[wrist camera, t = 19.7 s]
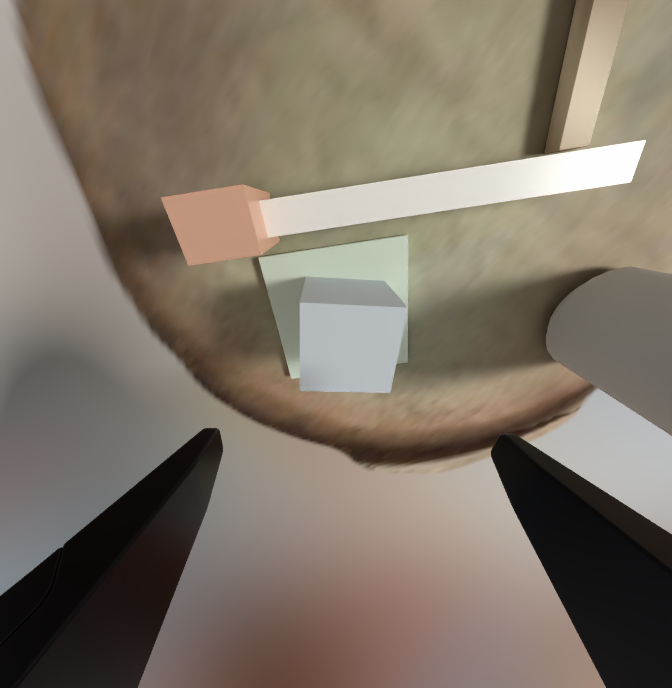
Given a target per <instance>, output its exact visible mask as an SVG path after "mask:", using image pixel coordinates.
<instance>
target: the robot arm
mask: <svg viewBox="0 0 672 688" xmlns="http://www.w3.org/2000/svg"><path fill="white" fill-rule="evenodd" d="M222 453H223V445H222V440H221V435H220V431H219V429H217V428H205V429H203V430H202V431H200V432H199V433H198V434H197V435H195V436H194V437H193V438H192V439H190V440H189V441H188V442H187V443H186V444H185V445H183V446H182V447H181V448H180V449H178V450H177V451H176V452H175V453H174V454H172V455H171V456H170V457H169V458H167V459H166V460H165V461H164V462H163V463H161V464H160V465H159V466H158V467H157V468H155V469H154V470H153V471H152V472H151V473H149V474H148V475H147V476H146V477H145V478H143V479H142V480H141V481H140V482H138V483H137V484H136V485H135V486H134V487H133V488H131V489H130V490H129V491H128V492H127V493H125V494H124V495H123V496H122V497H120V498H119V499H118V500H117V501H116V502H114V503H113V504H112V505H111V506H110V507H108V508H107V509H106V510H105V511H103V512H102V513H101V514H100V515H99V516H97V517H96V518H95V519H94V520H93V521H91V522H90V523H89V524H88V525H87V526H85V527H84V528H83V529H82V530H81V531H79V532H78V533H77V534H76V535H75V536H73V537H72V538H71V539H70V540H68V541H67V542H66V543H65V544H64V546H63V548H62V547H61V548H59V549H57V550H56V551H55V552H54V553H53V554H51V555H50V556H49V557H48V558H47V559H45V560H44V561H43V562H42V563H40V564H39V565H38V566H37V567H36V568H34V569H33V570H32V571H31V572H30V573H28V574H27V575H26V576H24V577H23V578H22V579H21V580H19V581H18V582H17V583H16V584H15V585H13V586H12V587H11V588H10V589H8V590H7V591H6V592H5V593H3V594H2V595H1V596H0V688H138V685H139V683H140V680H141V677H142V675H143V673H144V670H145V667H146V665H147V662H148V660H149V657H150V655H151V652H152V649H153V647H154V644H155V642H156V639H157V637H158V634H159V631H160V629H161V626H162V624H163V621H164V618H165V616H166V613H167V611H168V608H169V606H170V603H171V600H172V598H173V595H174V593H175V590H176V588H177V585H178V582H179V580H180V577H181V574H182V572H183V570H184V567H185V564H186V562H187V559H188V557H189V554H190V551H191V549H192V546H193V544H194V541H195V539H196V536H197V533H198V531H199V528H200V526H201V523H202V521H203V518H204V515H205V513H206V510H207V507H208V504H209V500H210V497H211V493H212V489H213V486H214V482H215V479H216V475H217V472H218V468H219V464H220V461H221V457H222ZM491 457H492V460H493V462H494V464H495V467H496V469H497V471H498V474H499V476H500V479H501V481H502V484H503V486H504V488H505V491H506V493H507V496H508V498H509V500H510V503H511V505H512V507H513V509H514V511H515V513H516V515H517V517H518V519H519V521H520V523H521V525H522V527H523V529H524V530H525V532H526V534H527V536H528V538H529V540H530V542H531V544H532V546H533V548H534V550H535V552H536V554H537V555H538V557H539V559H540V561H541V563H542V565H543V567H544V569H545V571H546V573H547V575H548V576H549V579H550V581H551V582H552V584H553V586H554V588H555V590H556V592H557V594H558V596H559V598H560V600H561V602H562V604H563V605H564V608H565V609H566V611H567V613H568V615H569V617H570V619H571V621H572V623H573V625H574V627H575V629H576V631H577V633H578V634H579V636H580V638H581V640H582V642H583V644H584V646H585V648H586V650H587V652H588V653H589V656H590V657H591V659H592V661H593V663H594V665H595V667H596V669H597V671H598V673H599V675H600V677H601V679H602V680H603V682H604V685H605V686H606V688H672V534H670V533H669V532H667V531H666V530H664V529H662V528H661V527H659V526H658V525H656V524H655V523H653V522H651V521H650V520H648V519H647V518H645V517H644V516H642V515H640V514H639V513H637V512H636V511H634V510H633V509H631V508H630V507H628V506H626V505H625V504H623V503H622V502H620V501H619V500H617V499H615V498H614V497H612V496H610V495H609V494H608V493H606V492H604V491H603V490H601V489H599V488H598V487H596V486H595V485H593V484H592V483H590V482H589V481H587V480H586V479H584V478H582V477H581V476H579V475H578V474H576V473H575V472H573V471H572V470H570V469H568V468H567V467H565V466H564V465H562V464H561V463H559V462H558V461H556V460H554V459H553V458H551V457H550V456H548V455H547V454H545V453H543V452H542V451H540V450H539V449H537V448H536V447H534V446H532V445H531V444H529V443H528V442H526V441H525V440H523V439H522V438H520V437H518V436H517V435H515V434H501V435H499V437H498V438H497V440H496V442H495V444H494V446H493V448H492V450H491Z"/></svg>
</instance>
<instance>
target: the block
mask: <svg viewBox="0 0 672 688" xmlns="http://www.w3.org/2000/svg"><path fill="white" fill-rule="evenodd" d="M407 311H408V307H407V306H406V305H405V303H404V302H403V301H402V300H401V299H400V298H399V297H398V295H397V294H396V293H395V292H394V291H393V290H392V289H391V287H390V286H389V285H388V284H387V283H386V282H385V281H379V280H361V279H343V278H325V277H307V276H306V279H305V283H304V287H303V291H302V295H301V299H300V391H329V392H375V393H390V392H391V387H392V382H393V377H394V373H395V368H396V363H397V358H398V354H399V349H400V344H401V340H402V335H403V330H404V325H405V321H406V316H407Z"/></svg>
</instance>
